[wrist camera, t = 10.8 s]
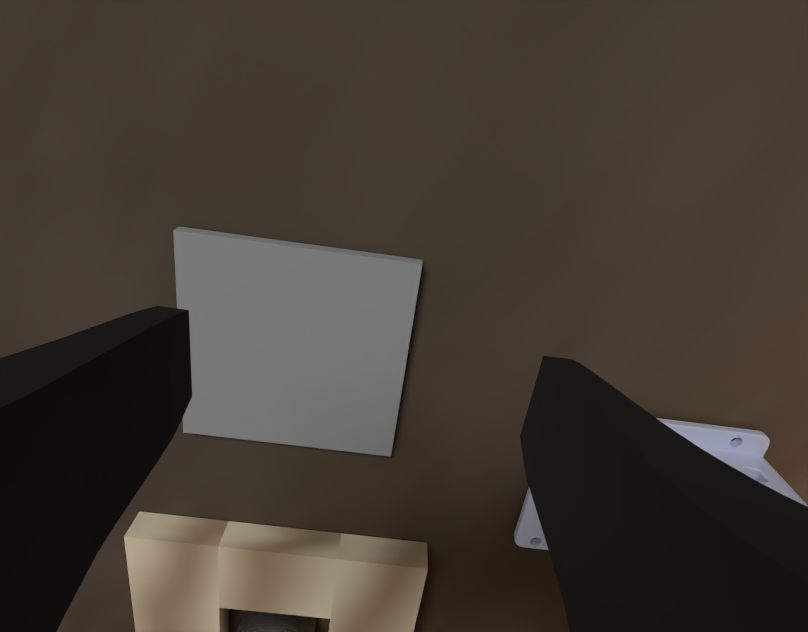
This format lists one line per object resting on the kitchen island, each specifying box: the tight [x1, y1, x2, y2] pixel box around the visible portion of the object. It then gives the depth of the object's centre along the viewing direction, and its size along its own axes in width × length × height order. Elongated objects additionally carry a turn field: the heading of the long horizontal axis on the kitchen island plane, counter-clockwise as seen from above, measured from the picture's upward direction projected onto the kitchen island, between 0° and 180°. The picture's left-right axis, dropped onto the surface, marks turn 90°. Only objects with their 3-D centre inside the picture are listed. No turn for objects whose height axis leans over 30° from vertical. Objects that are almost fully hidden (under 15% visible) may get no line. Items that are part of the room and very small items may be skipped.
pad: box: [173, 227, 422, 457], centre depth 21 cm, size 9×9×1 cm
